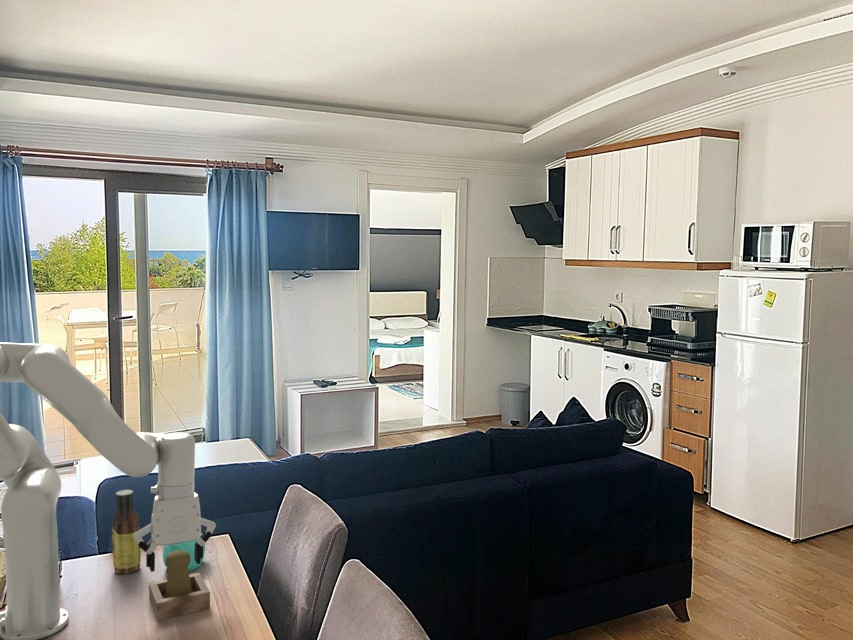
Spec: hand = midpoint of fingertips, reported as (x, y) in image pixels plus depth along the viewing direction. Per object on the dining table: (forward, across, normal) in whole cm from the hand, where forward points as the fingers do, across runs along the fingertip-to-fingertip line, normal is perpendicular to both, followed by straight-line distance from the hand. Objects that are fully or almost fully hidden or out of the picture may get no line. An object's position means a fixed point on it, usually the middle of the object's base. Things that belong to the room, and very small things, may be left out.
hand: (174, 565), depth 154 cm
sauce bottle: (+9, -7, +24) cm, 27 cm away
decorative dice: (+9, +6, +20) cm, 23 cm away
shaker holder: (+9, +1, 0) cm, 9 cm away
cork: (+8, +1, 0) cm, 8 cm away
